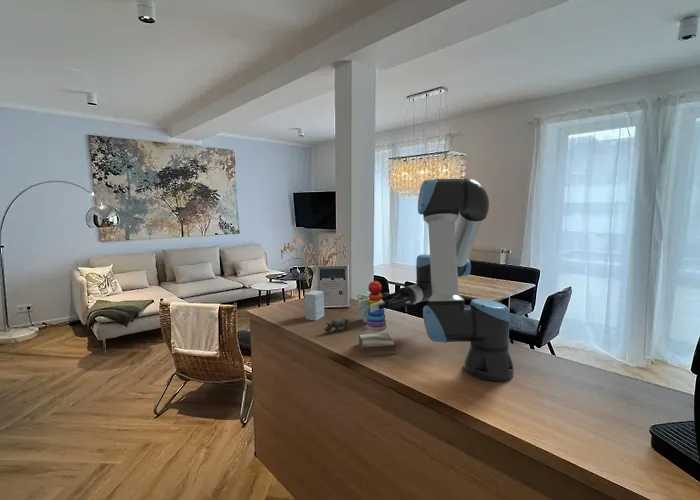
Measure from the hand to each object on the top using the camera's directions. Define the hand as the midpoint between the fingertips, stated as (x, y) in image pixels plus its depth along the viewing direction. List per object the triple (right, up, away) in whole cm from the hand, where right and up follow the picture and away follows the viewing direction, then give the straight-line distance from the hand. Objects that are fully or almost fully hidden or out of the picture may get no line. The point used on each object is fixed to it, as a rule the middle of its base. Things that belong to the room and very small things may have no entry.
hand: (365, 306), depth 133 cm
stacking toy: (+4, -10, +4) cm, 11 cm away
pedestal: (+5, -17, +5) cm, 19 cm away
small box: (-23, -13, +46) cm, 53 cm away
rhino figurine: (-11, -15, +25) cm, 32 cm away
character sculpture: (+4, -13, +39) cm, 41 cm away
